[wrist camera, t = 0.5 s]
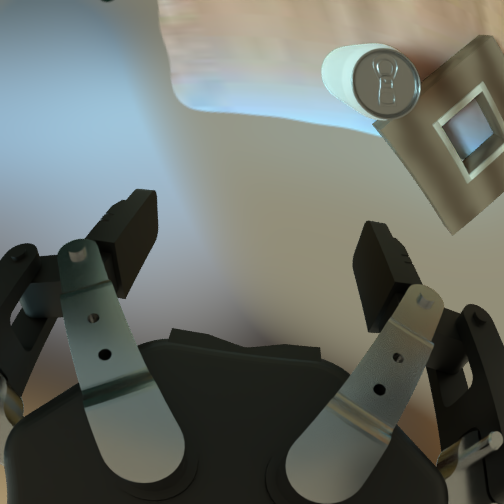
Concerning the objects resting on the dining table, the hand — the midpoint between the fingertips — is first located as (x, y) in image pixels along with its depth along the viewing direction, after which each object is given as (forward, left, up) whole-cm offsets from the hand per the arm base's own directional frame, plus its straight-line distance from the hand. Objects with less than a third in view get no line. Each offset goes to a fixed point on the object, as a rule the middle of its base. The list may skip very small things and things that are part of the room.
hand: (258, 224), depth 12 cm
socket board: (-18, +17, -25) cm, 35 cm away
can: (-10, +3, -25) cm, 27 cm away
